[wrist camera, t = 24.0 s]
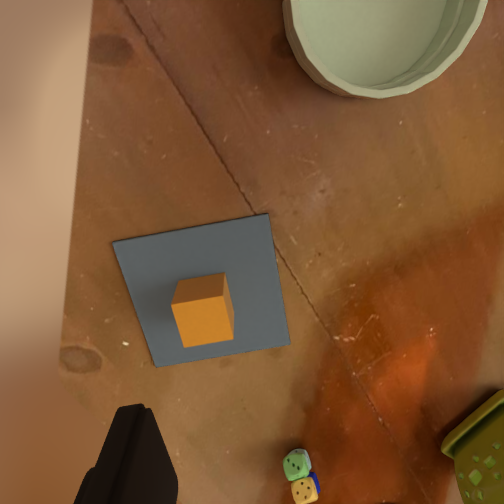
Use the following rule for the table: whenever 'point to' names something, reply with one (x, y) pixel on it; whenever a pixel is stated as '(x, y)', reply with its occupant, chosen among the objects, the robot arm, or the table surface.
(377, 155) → the table surface
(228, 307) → the cube
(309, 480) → the dice
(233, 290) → the mat
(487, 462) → the flower pot
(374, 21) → the celadon bowl
